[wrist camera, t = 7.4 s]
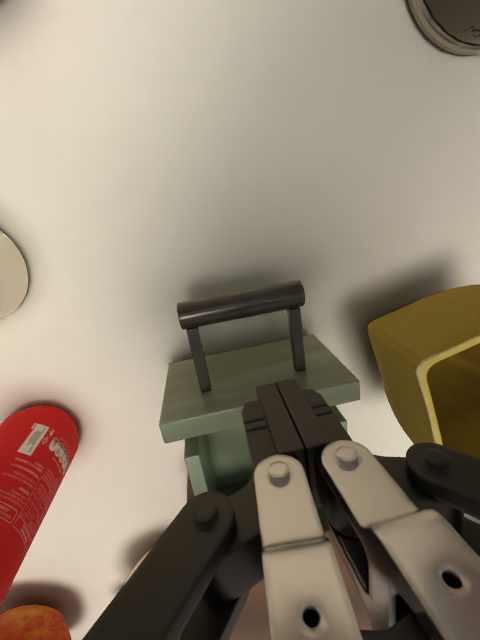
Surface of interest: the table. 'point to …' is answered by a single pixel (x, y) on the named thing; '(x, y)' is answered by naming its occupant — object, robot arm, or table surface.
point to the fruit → (33, 624)
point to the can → (11, 276)
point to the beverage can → (30, 478)
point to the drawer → (241, 384)
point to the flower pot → (433, 367)
